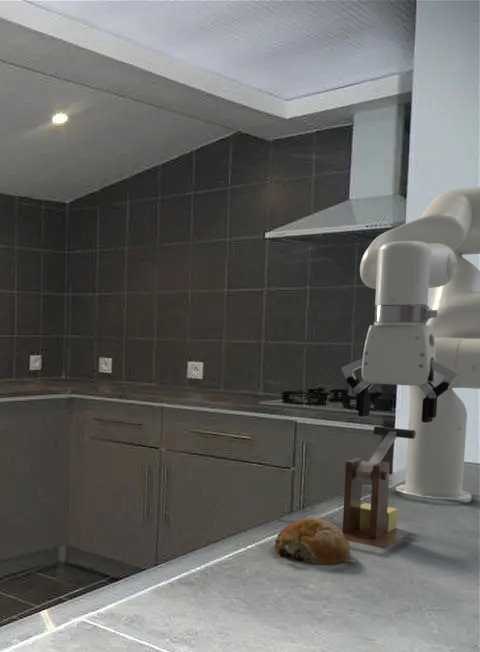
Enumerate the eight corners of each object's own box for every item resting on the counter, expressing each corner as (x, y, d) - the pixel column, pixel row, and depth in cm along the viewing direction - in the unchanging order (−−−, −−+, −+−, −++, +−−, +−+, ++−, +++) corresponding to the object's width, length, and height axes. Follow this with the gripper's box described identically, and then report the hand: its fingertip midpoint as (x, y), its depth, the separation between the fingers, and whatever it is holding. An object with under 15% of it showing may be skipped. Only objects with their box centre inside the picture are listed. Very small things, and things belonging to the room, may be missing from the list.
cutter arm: (377, 434, 124) (375, 422, 123) (416, 438, 120) (414, 426, 119) (344, 480, 116) (343, 468, 115) (385, 487, 111) (383, 474, 111)
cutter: (345, 526, 123) (349, 452, 122) (411, 539, 115) (415, 461, 114) (316, 540, 115) (319, 462, 114) (384, 556, 107) (388, 472, 106)
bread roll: (349, 596, 101) (377, 546, 100) (284, 565, 101) (311, 515, 100) (317, 571, 111) (341, 526, 110) (258, 543, 111) (282, 498, 110)
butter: (364, 521, 121) (365, 502, 121) (396, 527, 118) (397, 508, 117) (354, 525, 119) (355, 507, 119) (388, 532, 115) (389, 513, 115)
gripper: (468, 317, 115) (461, 422, 117) (353, 317, 128) (348, 412, 130) (454, 316, 110) (447, 426, 112) (336, 316, 123) (331, 415, 125)
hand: (394, 418), depth 121 cm, fingers open, 9 cm apart
